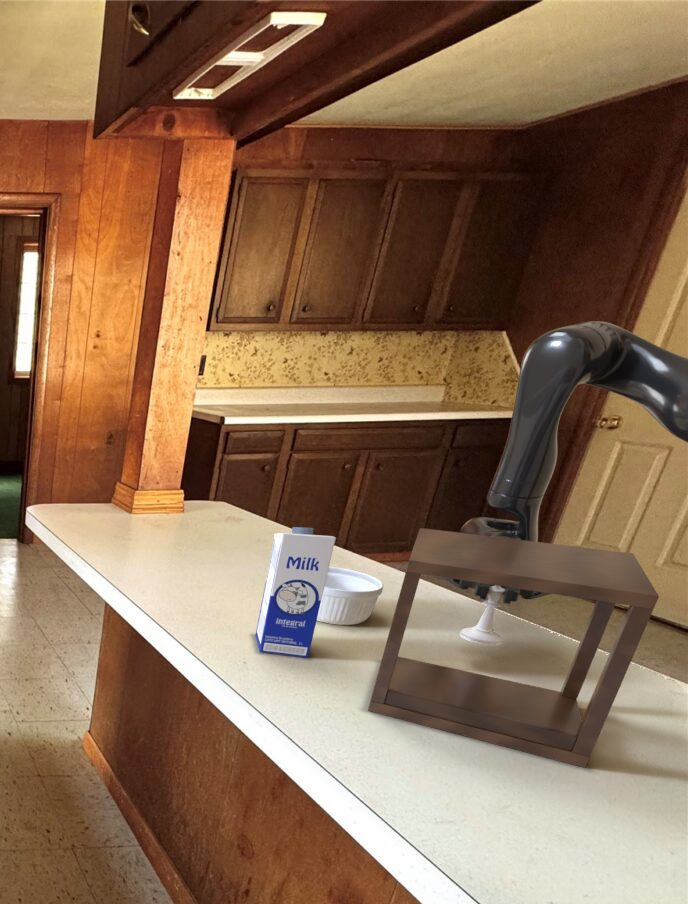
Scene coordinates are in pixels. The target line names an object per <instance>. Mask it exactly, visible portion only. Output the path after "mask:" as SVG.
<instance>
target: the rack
mask: <svg viewBox="0 0 688 904" xmlns="http://www.w3.org/2000/svg"><path fill="white" fill-rule="evenodd" d="M421 575H426V576H427V575H428V576H432V577H433V576H434V577H438V578H439V577H440V578H442V577H446V578H452V579H459V580H465V581H472V582H479V583H485V584H492V585H498V586H505V587H511V588H518V589H524V590H531V591H537V592H544V593H551V594H550V595H557V596H565V597H571V598H577V599H584V600H592V601H595V603H594V606H593V608H592V610H591V614H590V616H589V618H588V621H587V623H586V626H585V628H584V631H583V634H582V636H581V638H580V642H579V644H578V646H577V649H576V651H575V653H574V657H573V659H572V662H571V664H570V667H569V669H568V672H567V674H566V677H565V679H564V681H563V684H562V687H561V689H560V691H558V690H554V689H550V688H544V687H541V686H536V685H531V684H527V683H522V682H517V681H513V680H508V679H503V678H499V677H495V676H489V675H485V674H481V673H475V672H472V671H466V670H463V669H457V668H452V667H449V666H443V665H439V664H435V663H430V662H425V661H420V660H415V659H411V658H408V657H402V656H399V653H400V649H401V646H402V643H403V639H404V635H405V631H406V629H407V626H408V625H407V624H408V621H409V618H410V614H411V611H412V607H413V603H414V600H415V597H416V593H417V589H418V586H419V582H420V578H421ZM659 598H660V595H659V593H658V592H657V590H656V589H655V587H654V585H653V584H652V582H651V580H650V578H649V577H648V576H647V574H646V572H645V571H644V569H643V567H642V565H641V564H640V563H639V561H638V559H637V557H636V556H635V554H634V553H633V552H625V551H617V550H609V549H608V550H607V549H601V548H600V549H599V548H591V547H583V546H575V545H565V544H558V543H549V542H541V541H538V542H533V541H525V540H517V539H508V538H500V537H491V536H483V535H475V534H466V533H459V532H458V531H448V530H441V529H433V528H432V529H431V528H423V527H420V528H419V530H418V532H417V536H416V539H415V541H414V545H413V548H412V551H411V554H410V555H409V559H408V562H407V566H406V569H405V573H404V577H403V581H402V584H401V589H400V591H399V594H398V599H397V601H396V606H395V611H394V614H393V618H392V621H391V624H390V627H389V632H388V635H387V639H386V643H385V646H384V649H383V652H382V653H383V654H382V656H381V661H380V664H379V668H378V671H377V675H376V679H375V683H374V686H373V690H372V693H371V697H370V701H369V703H368V704H369V705H368V708H367V711H369V712H372V713H376V714H380V715H384V716H387V717H390V718H394V719H398V720H403V721H406V722H409V723H413V724H418V725H421V726H425V727H429V728H433V729H436V730H440V731H445V732H447V733H452V734H455V735H459V736H462V737H463V736H464V737H466V738H470V739H473V740H474V739H475V740H478V741H482V742H486V743H490V744H494V745H496V746H500V747H505V748H508V749H512V750H516V751H520V752H524V753H527V754H532V755H534V756H539V757H542V758H547V759H550V760H553V761H558V762H562V763H565V764H569V765H573V766H576V767H580V768H586V767H587V765H588V763H589V760H590V757H591V754H592V753H593V751H594V748H595V746H596V744H597V741H598V739H599V737H600V734H601V732H602V730H603V727H604V725H605V723H606V721H607V718H608V716H609V714H610V711H611V709H612V707H613V704H614V702H615V699H616V697H617V695H618V692H619V691H620V688H621V685H622V683H623V680H624V678H625V676H626V674H627V672H628V669H629V667H630V665H631V663H632V659H633V658H634V656H635V653H636V651H637V648H638V646H639V644H640V641H641V640H642V637H643V635H644V632H645V630H646V629H647V625H648V623H649V621H650V618H651V616H652V614H653V611H654V609H655V608H656V607H655V606H656V605H657V602H658V600H659ZM616 604H618V605H624V606H628V608H627V611H626V613H625V615H624V618H623V620H622V623H621V625H620V628H619V630H618V633H617V634H616V637H615V639H614V642H613V644H612V647H611V649H610V652H609V653H608V656H607V659H606V660H605V664H604V666H603V669H602V671H601V674H600V676H599V679H598V681H597V683H596V685H595V688H594V690H593V693H592V695H591V697H590V699H589V702H588V705H587V707H586V709H585V712H584V714H583V716H582V717H581V712H580V708H579V703H578V697H579V695H580V692H581V690H582V688H583V685H584V683H585V680H586V678H587V675H588V673H589V669H590V668H591V665H592V663H593V660H594V658H595V657H596V656H595V655H596V654H597V651H598V648H599V645H600V644H601V641H602V638H603V636H604V633H605V631H606V629H607V626H608V624H609V621H610V619H611V616H612V614H613V611H614V609H615V606H616Z"/></svg>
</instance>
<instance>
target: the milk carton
mask: <svg viewBox="0 0 688 904" xmlns="http://www.w3.org/2000/svg"><path fill="white" fill-rule="evenodd" d="M273 536H274V538H273V543H272V548H271V552H270V559H269V564H268V569H267V574H266V579H265V583H264V589H263V595H262V598H261V599H262V600H261V605H260V609H259V615H258V620H257V625H256V629H255V639H256V642H257V646H258V650H259V652H260V653H267V654H273V655H281V656H290V657H297V658H305V659H306V658H307V659H309V656H310V655H309V654H310V652H311V651H310V650H311V646H312V642H313V637H314V633H315V628H316V626H317V625H316V624H317V622H318V621H317V616H318V612H319V608H320V603H321V599H322V595H323V590H324V586H325V582H326V577H327V573H328V569H329V567H330V564H331V561H332V560H331V559H332V556H333V552H334V547H335V544H336V540H337V537H335V536H333V535H318V534H314V527H302V526H299V527H298V526H293V527H292V528H291V532H290V533H289V532H277V533H273Z"/></svg>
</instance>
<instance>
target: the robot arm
mask: <svg viewBox="0 0 688 904" xmlns="http://www.w3.org/2000/svg"><path fill="white" fill-rule="evenodd" d="M517 379H518V381H517V386H516V393H515V399H514V403H513V408H512V409H513V410H512V415H511V419H510V425H509V429H508V433H507V438H506V442H505V445H504V449H503V452H502V454H501V458H500V460H499V464H498V466H497V468H496V471H495V473H494V476H493V478H492V481H491V484H490V487H489V489H488V492H487V495H486V503H487V504H488V505H489V506H490V507H492V508H493V509H496V510H497V511H501V512H504V513H507V514H510V515H511V516H514V517H515V518H516V519H517V520H510V519H503V518H496V517H489V516H488V517H487V516H476V517H473V518H471V519H469V520H467V521H466V522H465V523H464V524H463V525H462V526H461V528H460V529H459V532H458V533H466V534H475V535H483V536H491V537H500V538H508V539H517V540H525V541H533V542H539V514H540V509H541V508H540V507H541V504H542V501H543V498H544V496H545V493H546V492H547V489H548V486H549V484H550V481H551V479H552V478H553V475H554V471H555V469H556V465H557V460H558V429H559V423H560V419H561V416H562V413H563V412H564V408H565V406H566V404H567V403H568V401H569V399H570V397H571V396H572V394H573V392H574V391H575V389H576V388H577V386H578V385H582V384H584V385H589V386H592V387H596V388H600V389H602V390H605V391H608V392H611V393H614V394H616V395H619V396H621V397H624V398H627V399H628V400H631V401H633V402H634V403H636V404H638V405H639V406H641V408H643V409H644V410H645V411H646V412H648V413H649V415H650V416H651V417H653V419H655V420H656V422H657V423H658V424H660V425H661V427H663V428H664V429H665V430H666V431H668V433H670V434H671V435H673V436H675V437H676V438H678V439H680V440H681V441H683V442H685V443H687V444H688V357H686V356H683V355H679V354H677V353H674V352H672V351H670V350H667V349H665V348H664V347H661V346H659V345H657V344H655V343H652V342H651V341H649V340H647V339H645V338H643V337H641V336H639V335H637V334H635V333H633V332H631V331H629V330H627V329H625V328H623V327H620V326H618V325H616V324H613V323H611V322H607V321H600V320H599V321H598V320H591V321H582V322H578V323H574V324H570V325H565V326H562V327H558V328H555V329H552V330H548V331H546V332H545V333H543V334H541V335H539V336H538V337H536V338H535V339H534V340H533V341H532V342H531V343H530V345H529V346H528V347H527V349H526V350H525V352H524V354H523V356H522V360H521V364H520V369H519V375H518V378H517ZM441 578H442V579H444V580H445V581H447V582H448V583H450V584H451V585H453V586H455V587H457V588H458V589H460V590H469V589H470V588H471V589H473V590H472V591H473V595H474V596H476V597H478V599H479V600H482V601H486V600H487V598H488V591H489V587H490V586H495V585H492V584H485V583H479V582H472V581H465V580H459V579H452V578H446V577H441ZM500 587H501V588H504V589H505V590H506V591H505V593H504V594H503V595H502V603H503V604H506V605H511V602H513V603H514V602H518V599H519V596H520V598H522V599H524V600H534V599H538V598H541V597H545V596H549V595H552V594H551V593H544V592H537V591H531V590H524V589H518V588H511V587H505V586H500Z"/></svg>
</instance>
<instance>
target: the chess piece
mask: <svg viewBox="0 0 688 904" xmlns="http://www.w3.org/2000/svg"><path fill="white" fill-rule="evenodd" d="M505 591H506V590H505V589H504V588H501V587H500V586H498V585H495V586H490V587H489V591H488V594H487V599H486V600H482V602H481V604H482V605H483V606H486V607H485V609H484V610H483V613H482V614H481V616H480V618H479V620H478V622H477V624H475V625H473V627H471V626H470V627H469V626H468V627H464V628H462V629H461V630H460V632H459V634H458V635H459V637H460V638H462V639H463V640H466V641H468V642H471V643H474V644H479V645H484V646H499V645H502V644H503V637H502V635H501V634H499V633H498V632H496V631H495V630H494V629H493V620H494V614H495V609H497V608H501V607H502V604H501V602H498V601H499V600H500V599H501V598H502V597H503V594H504V593H505Z"/></svg>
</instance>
